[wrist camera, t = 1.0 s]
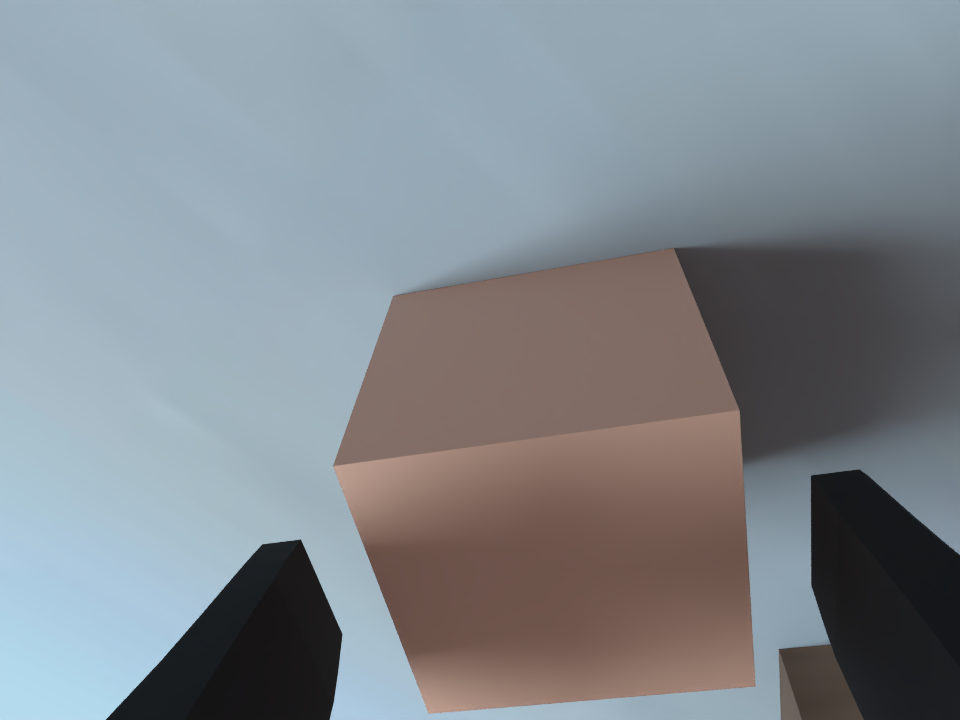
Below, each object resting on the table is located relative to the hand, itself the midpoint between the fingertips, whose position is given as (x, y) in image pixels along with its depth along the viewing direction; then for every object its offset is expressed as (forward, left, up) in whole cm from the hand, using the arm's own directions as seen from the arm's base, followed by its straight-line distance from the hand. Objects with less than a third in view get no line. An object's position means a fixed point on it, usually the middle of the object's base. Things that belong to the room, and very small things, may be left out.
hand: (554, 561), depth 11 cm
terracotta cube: (0, 0, -5) cm, 5 cm away
